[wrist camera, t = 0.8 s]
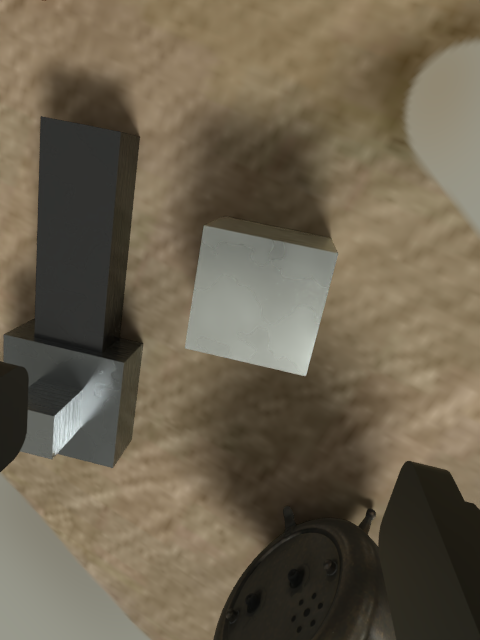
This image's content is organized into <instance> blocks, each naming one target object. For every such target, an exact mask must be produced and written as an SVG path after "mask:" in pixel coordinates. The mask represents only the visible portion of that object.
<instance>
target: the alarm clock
mask: <svg viewBox="0 0 480 640" xmlns="http://www.w3.org/2000/svg"><path fill="white" fill-rule="evenodd" d="M283 514H284V518H285V528H286V529H285V532H284V533H283V534H282V535H281V536H279V537H278V538H276V539H275V540H274V541H273V542H271V543H270V544H269V545H268V546H267V547H266V548H265V549H264V550H263V551H262V552H261V553H260V554H259V555H258V556H257V557H256V558H255V559H254V560H253V561H252V563H251V564H250V565H249V566H248V568H247V569H246V570H245V571H244V573H243V574H242V576H241V577H240V578H239V580H238V581H237V583H236V585H235V587H234V588H233V590H232V592H231V594H230V596H229V598H228V600H227V602H226V604H225V606H224V608H223V610H222V613H221V616H220V618H219V621H218V624H217V628H216V631H215V635H214V639H213V640H396V636H395V631H394V626H393V621H392V616H391V611H390V606H389V601H388V596H387V591H386V586H385V581H384V576H383V572H382V567H381V562H380V557H379V547H378V546H377V545H376V544H375V542H374V541H373V540H372V539H371V538H370V537H369V536H368V532H369V529H370V525H371V521H372V520H373V519H375V517H376V513H375V511H374V510H373V509H368V510H367V512H366V517H365V518H364V519H363V521H362V522H361V523H360V525H359V526H356V525H355V524H353V523H351V522H349V521H346V520H342V519H336V518H322V519H316V520H311V521H307V522H305V523H302V524H299V525H296V523H295V520H294V515H293V511H292V509H291V508H290V507H289V506H286V507H285V508H284V510H283Z"/></svg>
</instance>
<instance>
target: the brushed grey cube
mask: <svg viewBox="0 0 480 640" xmlns="http://www.w3.org/2000/svg"><path fill="white" fill-rule="evenodd" d="M337 256H338V252H337V250H336V247H335V245H334V243H333V241H332V239H331V238H328V237H324V236H319V235H314V234H309V233H304V232H299V231H294V230H290V229H285V228H280V227H275V226H270V225H265V224H261V223H256V222H251V221H246V220H241V219H236V218H231V217H227V216H223V217H221V218H219V219H217V220H215V221H212V222H210V223H208V224H206V225H204V228H203V234H202V241H201V247H200V253H199V260H198V266H197V273H196V279H195V286H194V292H193V299H192V305H191V311H190V318H189V324H188V331H187V337H186V344H185V348H186V349H190V350H195V351H199V352H203V353H207V354H212V355H216V356H220V357H225V358H229V359H233V360H238V361H242V362H246V363H251V364H255V365H259V366H264V367H268V368H272V369H277V370H281V371H285V372H290V373H294V374H298V375H303V376H306V374H307V370H308V366H309V363H310V359H311V355H312V351H313V347H314V344H315V340H316V336H317V332H318V328H319V325H320V321H321V317H322V313H323V309H324V306H325V302H326V298H327V294H328V290H329V286H330V283H331V279H332V275H333V271H334V267H335V264H336V260H337Z"/></svg>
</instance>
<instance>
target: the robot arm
mask: <svg viewBox="0 0 480 640" xmlns="http://www.w3.org/2000/svg"><path fill="white" fill-rule="evenodd" d="M28 385H29V376H28V372H27V370H26V369H25V368H24V367H22V366H18V365H13V364H9V363H5V362H1V361H0V472H1V471H2V470H3V469H4V468H5V467H6V466H7V465H8V464H9V463H11V462H12V461H13V460H14V459H15V457H16V456H17V455H18V453H19V452H20V450H21V448H22V446H23V444H24V441H25V438H26V434H27V418H28ZM379 557H380V562H381V567H382V572H383V576H384V581H385V586H386V591H387V596H388V601H389V606H390V611H391V616H392V621H393V626H394V631H395V636H396V640H480V510H479V509H478V508H477V507H476V505H475V504H473V503H469V502H465V501H464V499H463V497H462V495H461V493H460V491H459V489H458V487H457V485H456V483H455V481H454V479H453V477H452V475H451V474H450V472H449V471H447V470H445V469H440V468H436V467H432V466H428V465H424V464H420V463H415V462H411V461H407V462H405V463H404V465H403V466H402V468H401V471H400V473H399V476H398V479H397V481H396V484H395V487H394V489H393V492H392V495H391V497H390V500H389V503H388V506H387V508H386V511H385V514H384V516H383V519H382V522H381V526H380V532H379Z"/></svg>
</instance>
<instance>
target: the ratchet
mask: <svg viewBox="0 0 480 640" xmlns="http://www.w3.org/2000/svg"><path fill="white" fill-rule="evenodd" d="M139 140H140V137H139V136H135V135H131V134H127V133H123V132H119V131H113V130H108V129H103V128H98V127H93V126H88V125H83V124H78V123H72V122H67V121H62V120H57V119H52V118H47V117H42V116H41V126H40V161H39V195H38V230H37V265H36V299H35V319H33V320H31V321H29V322H27V323H25V324H23V325H21V326H19V327H17V328H15V329H13V330H11V331H9V332H7V333H5V334H4V362H5V363H9V364H13V365H18V366H22V367H24V368H25V369H26V370H27V372H28V376H29V385H28V418H27V434H26V438H25V441H24V444H23V446H22V448H21V450H20V451H21V452H25V453H29V454H33V455H37V456H41V457H45V458H49V459H53V458H54V457H55V456H56V454H60V455H64V456H68V457H72V458H76V459H80V460H84V461H88V462H92V463H96V464H100V465H103V466H107V467H111V468H113V467H114V466H115V464H116V463H117V461H118V460H119V458H120V457H121V455H122V454H123V452H124V451H125V449H126V448H127V446H128V445H129V443H130V442H131V440H132V433H133V425H134V416H135V408H136V400H137V391H138V383H139V375H140V366H141V358H142V350H143V343H140V342H135V341H131V340H127V339H122V338H120V330H121V320H122V310H123V300H124V290H125V280H126V270H127V260H128V250H129V240H130V230H131V220H132V210H133V200H134V190H135V180H136V170H137V160H138V150H139Z"/></svg>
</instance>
